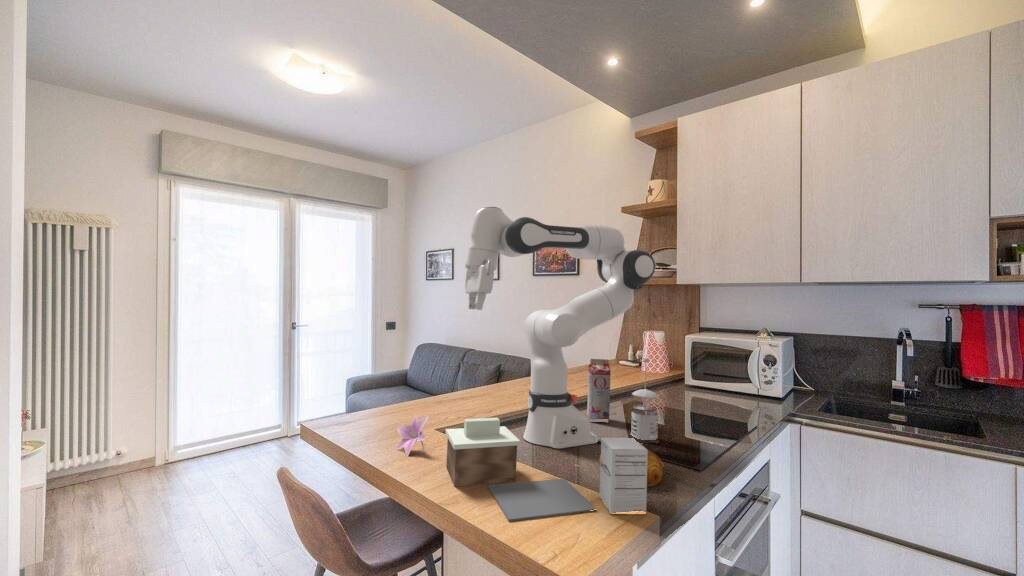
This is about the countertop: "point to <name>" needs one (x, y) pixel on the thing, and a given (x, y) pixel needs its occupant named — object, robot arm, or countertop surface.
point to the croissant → (652, 469)
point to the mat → (539, 499)
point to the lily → (411, 434)
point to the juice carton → (598, 389)
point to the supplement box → (623, 474)
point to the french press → (643, 423)
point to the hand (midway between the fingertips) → (474, 309)
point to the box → (481, 464)
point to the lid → (481, 434)
